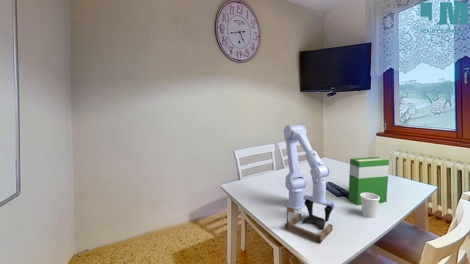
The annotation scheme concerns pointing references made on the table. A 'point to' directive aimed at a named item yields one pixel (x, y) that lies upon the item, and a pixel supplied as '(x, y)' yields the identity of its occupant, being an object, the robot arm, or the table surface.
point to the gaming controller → (315, 220)
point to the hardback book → (368, 178)
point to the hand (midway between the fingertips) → (318, 218)
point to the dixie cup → (369, 204)
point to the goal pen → (305, 233)
